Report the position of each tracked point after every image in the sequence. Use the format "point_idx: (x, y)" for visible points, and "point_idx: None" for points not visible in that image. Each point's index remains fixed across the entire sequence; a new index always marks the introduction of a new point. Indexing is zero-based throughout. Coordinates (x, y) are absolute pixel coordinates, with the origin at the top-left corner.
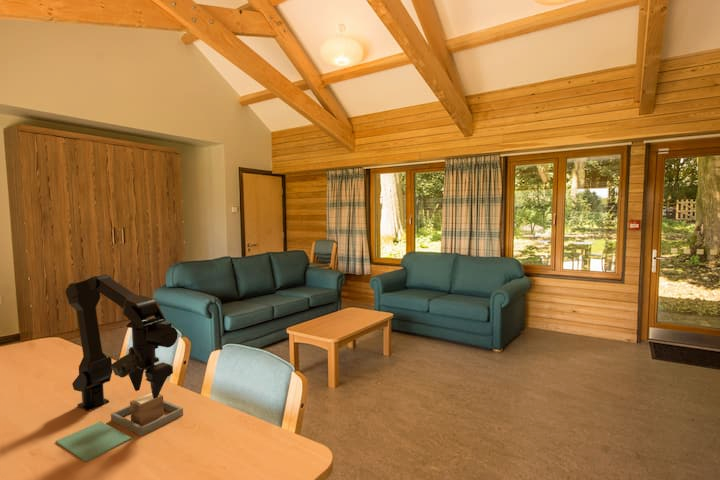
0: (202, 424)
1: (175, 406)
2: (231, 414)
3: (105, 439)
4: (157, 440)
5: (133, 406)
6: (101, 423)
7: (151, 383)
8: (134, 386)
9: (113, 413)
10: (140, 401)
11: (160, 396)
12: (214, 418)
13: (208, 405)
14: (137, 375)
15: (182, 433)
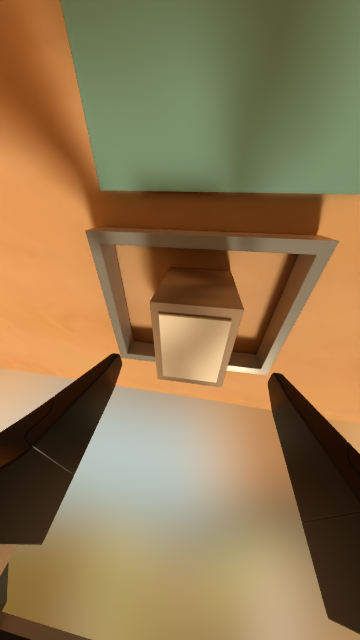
0: (60, 334)
1: (147, 358)
2: (64, 371)
3: (177, 86)
4: (46, 240)
5: (209, 297)
6: (344, 182)
7: (4, 448)
8: (289, 396)
9: (323, 249)
10: (184, 326)
11: (158, 373)
12: (69, 355)
13: (128, 380)
14: (317, 493)
15: (45, 294)
